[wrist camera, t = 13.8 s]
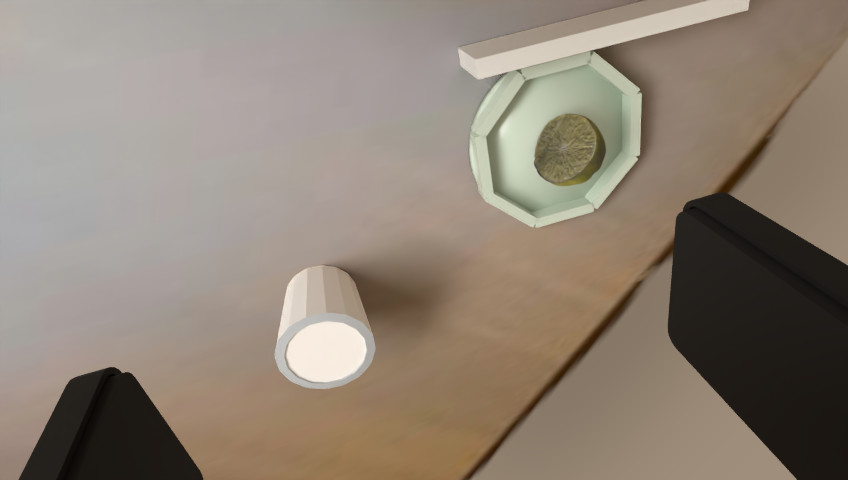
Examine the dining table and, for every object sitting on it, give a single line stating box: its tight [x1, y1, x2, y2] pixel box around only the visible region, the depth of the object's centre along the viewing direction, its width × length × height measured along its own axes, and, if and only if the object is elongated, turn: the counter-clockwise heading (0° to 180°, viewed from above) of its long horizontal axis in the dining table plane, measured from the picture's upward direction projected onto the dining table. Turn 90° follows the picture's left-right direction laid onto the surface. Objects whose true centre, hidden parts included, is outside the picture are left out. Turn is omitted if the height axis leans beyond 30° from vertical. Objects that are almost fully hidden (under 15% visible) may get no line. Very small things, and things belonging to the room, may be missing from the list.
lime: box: [534, 114, 606, 186], centre depth 37 cm, size 4×5×5 cm
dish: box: [469, 51, 642, 228], centre depth 39 cm, size 13×13×2 cm
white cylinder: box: [275, 265, 376, 389], centre depth 39 cm, size 7×7×7 cm
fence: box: [458, 0, 749, 79], centre depth 34 cm, size 1×18×4 cm, turn 101°
